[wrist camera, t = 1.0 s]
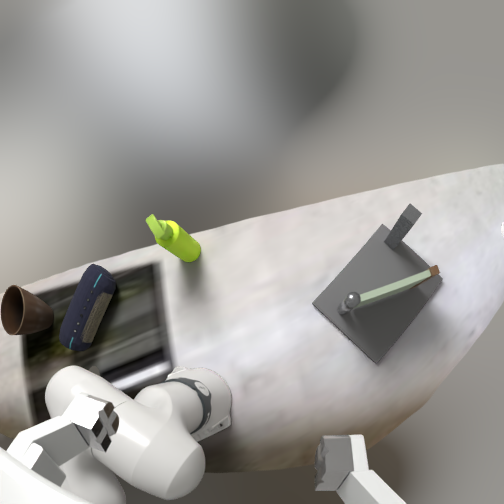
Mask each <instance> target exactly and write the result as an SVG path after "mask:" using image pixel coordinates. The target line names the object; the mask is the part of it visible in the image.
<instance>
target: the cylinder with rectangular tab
mask: <svg viewBox="0 0 504 504" xmlns="http://www.w3.org/2000/svg"><path fill="white" fill-rule="evenodd" d="M501 232H502V236H503V239H504V221H503V223H502V227H501Z"/></svg>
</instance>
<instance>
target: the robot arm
mask: <svg viewBox="0 0 504 504" xmlns="http://www.w3.org/2000/svg"><path fill="white" fill-rule="evenodd" d="M231 401H232V399H231V392H230V389H229V387H228V385H227V383H226V382H225V380H224V379H223V378H222V377H221V376H220V375H218V374H217V373H215V372H214V371H212V370H209V369H205V368H193V369H188V368H185V367H181V366H178V367H176V368H175V369H174V370H173V372H172V373H171V374H170V375H168V378H167V380H165V381H163V382H162V383H160V384H157V385H152V386H148V387H146V388H144V389H143V390H141V391H140V392H139V393H138V395H137V396H136V397H135V399H134V400H133V399H131V398H130V397H129V396H127V395H126V394H124V393H123V392H121V391H120V390H119V389H117V388H116V387H114V386H113V385H112V384H110V383H109V382H108V381H106V380H105V379H104V378H102V377H100V376H98V375H96V374H94V373H92V372H90V371H88V370H86V369H84V368H81V367H79V366H68V367H65V368H63V369H61V370H59V371H58V372H57V373H56V374H55V375H54V376H53V377H52V378H51V379H50V381H49V383H48V385H47V388H46V393H45V402H46V405H47V408H48V411H49V413H50V416H51V419H50V420H48V421H45V422H43V423H41V424H39V425H36V426H34V427H32V428H29V429H27V430H24V431H22V432H20V433H19V434H18V435H17V437H16V438H15V440H14V441H13V442H12V444H11V445H10V447H9V448H8V449H7V451H5V450H3V449H2V448H1V447H0V504H126V497H125V493H124V491H123V488H122V487H121V485H120V483H119V481H118V480H117V478H116V477H115V475H114V473H115V474H117V475H118V476H120V477H121V478H122V479H124V480H125V481H127V482H128V483H129V484H131V485H132V486H134V487H136V488H138V489H140V490H143V491H145V492H147V493H150V494H152V495H154V496H157V497H160V498H162V499H165V500H173V499H177V498H180V497H183V496H185V495H187V494H188V493H190V492H191V491H193V490H194V489H195V488H196V487H197V486H198V484H199V483H200V481H201V480H202V477H203V475H204V471H205V455H204V451H203V449H202V447H201V445H199V444H198V443H197V442H198V441H200V440H202V439H205V438H207V437H209V436H211V435H213V434H215V433H217V432H219V431H221V430H223V429H225V428H227V427H229V426H230V425H231V418H230V408H231ZM220 424H222V425H223V426H221V425H220ZM315 468H316V469H317V470H318V471H317V474H316V476H315V491H335V490H337V493H338V494H339V496H340V497H341V498H342V500H343V501H344V502H345V504H406V503H405V502H404V501H403V500H402V499H401V498H400V497H399V496H398V495H397V494H396V493H395V492H394V491H393V490H392V489H391V488H390V487H389V486H388V485H387V484H386V483H385V482H384V481H383V480H382V479H381V478H380V477H379V476H378V475H377V474H376V473H375V472H374V471H373V470H369V468H368V461H367V454H366V448H365V442H364V437H363V435H331V436H322V437H321V440H320V445H319V446H318V447H317V450H316V454H315Z"/></svg>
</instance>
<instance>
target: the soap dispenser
mask: <svg viewBox="0 0 504 504" xmlns="http://www.w3.org/2000/svg"><path fill="white" fill-rule="evenodd" d="M146 222H147V223H148V225H149V227H150V229H151V230H152V232H153V233H154V235H155V239H156V242H157V243H158V244H159V245H160V246H162V247H163V248H165V249H166V250H168V251H169V252H171V253H172V254H174V255H175V256H177V257H178V258H180V259H182V260H183V261H185V262H193V261H195V260H196V259H197V258H198V257H199V255H200V252H201V248H200V245H199V243H198V242H197V241H196V240H194V239H193V238H192V237H191V236H190V235H189V234H188V233H186V232H185V231H184V230H183V229H182V228H181V227H180V226H179V225H177V224H176V223H175V222H173V221H163V220H158V221H157V220H156V218H155V216H154V215H153V214H152V215H151V216H150V217H148V218H147V219H146Z"/></svg>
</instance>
